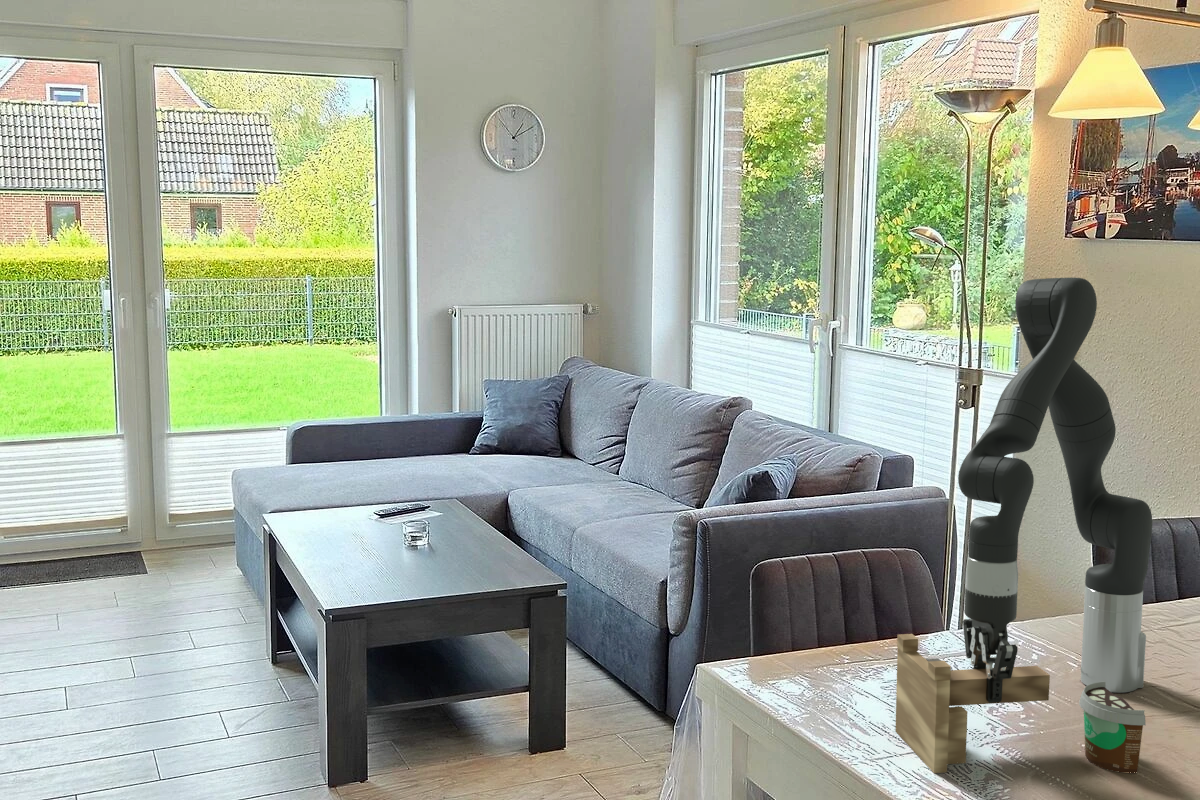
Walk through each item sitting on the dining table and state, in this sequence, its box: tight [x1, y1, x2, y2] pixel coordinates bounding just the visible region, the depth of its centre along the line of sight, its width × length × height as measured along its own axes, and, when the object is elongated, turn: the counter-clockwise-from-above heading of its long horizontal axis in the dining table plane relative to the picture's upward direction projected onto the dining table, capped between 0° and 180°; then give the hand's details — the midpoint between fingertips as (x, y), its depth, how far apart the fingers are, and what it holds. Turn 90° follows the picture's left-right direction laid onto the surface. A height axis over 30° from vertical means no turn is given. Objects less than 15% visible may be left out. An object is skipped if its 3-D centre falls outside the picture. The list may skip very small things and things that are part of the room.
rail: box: [925, 658, 1051, 707], centre depth 183 cm, size 18×4×6 cm, turn 98°
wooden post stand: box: [895, 633, 968, 774], centre depth 182 cm, size 6×15×16 cm, turn 8°
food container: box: [1078, 681, 1147, 774], centre depth 179 cm, size 12×6×10 cm, turn 5°
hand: (986, 695), depth 183 cm, fingers closed on rail, 4 cm apart
